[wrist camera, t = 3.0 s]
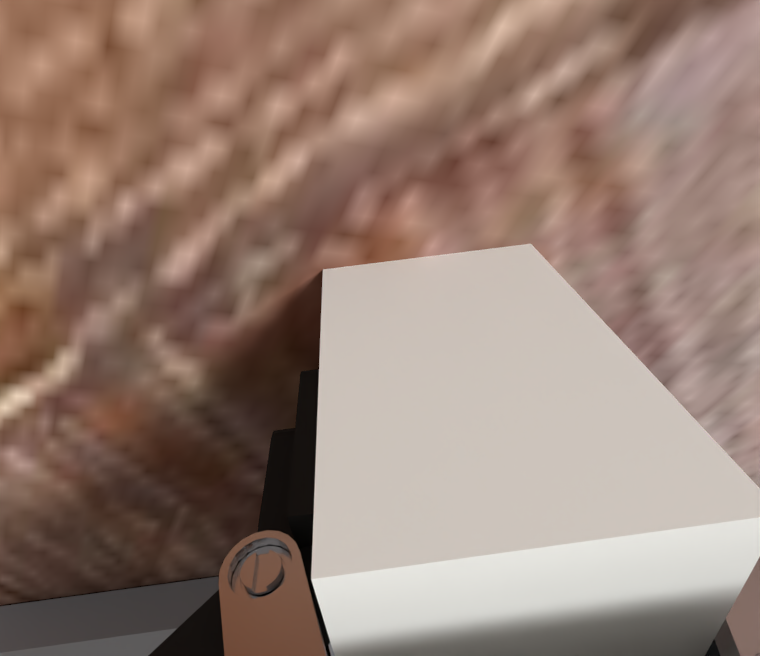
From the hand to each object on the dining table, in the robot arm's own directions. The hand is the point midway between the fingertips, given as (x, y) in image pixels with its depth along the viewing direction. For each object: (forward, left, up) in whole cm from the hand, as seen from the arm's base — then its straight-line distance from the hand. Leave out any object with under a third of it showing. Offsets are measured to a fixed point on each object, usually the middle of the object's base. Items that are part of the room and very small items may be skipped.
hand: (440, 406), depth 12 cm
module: (0, 0, -1) cm, 1 cm away
